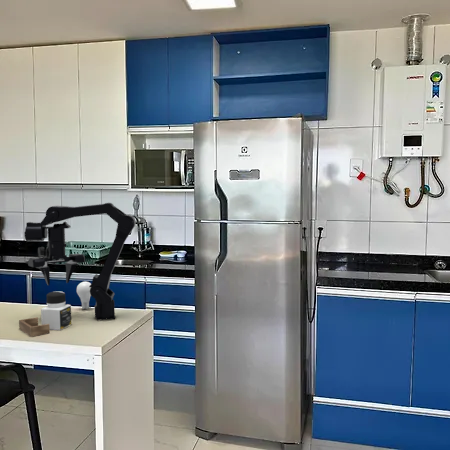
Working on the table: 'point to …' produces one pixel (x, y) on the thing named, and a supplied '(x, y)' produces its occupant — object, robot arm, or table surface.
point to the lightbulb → (84, 293)
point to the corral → (33, 327)
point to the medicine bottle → (56, 311)
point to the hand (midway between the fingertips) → (57, 283)
